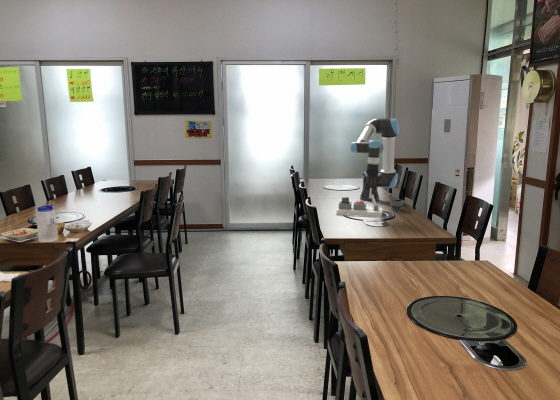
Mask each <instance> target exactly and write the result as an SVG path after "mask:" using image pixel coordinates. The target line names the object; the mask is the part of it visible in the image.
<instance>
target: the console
mask: <svg viewBox="0 0 560 400" xmlns="http://www.w3.org/2000/svg"><path fill="white" fill-rule="evenodd" d="M376 205H377V206H374V205H373V207H371V206H370V207H368V206H367V202H364V204H356V201H354V202H353V205H352V201H349V204H347V203H342V200H339V203H338V207H337V209H336V214H335V215H339V216H341V215H342V216H347V215H346V214H349V215H348V216H354V215H361V216H360V217H371V218H372V217H373V218H374V217H375V218H382V215H383V208H382V207H379V204H376Z"/></svg>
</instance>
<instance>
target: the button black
mask: <svg viewBox="0 0 560 400" xmlns="http://www.w3.org/2000/svg"><path fill="white" fill-rule="evenodd" d="M341 201H342V203H347V204H349V202H350V197H348V196H342V197H341Z"/></svg>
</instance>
